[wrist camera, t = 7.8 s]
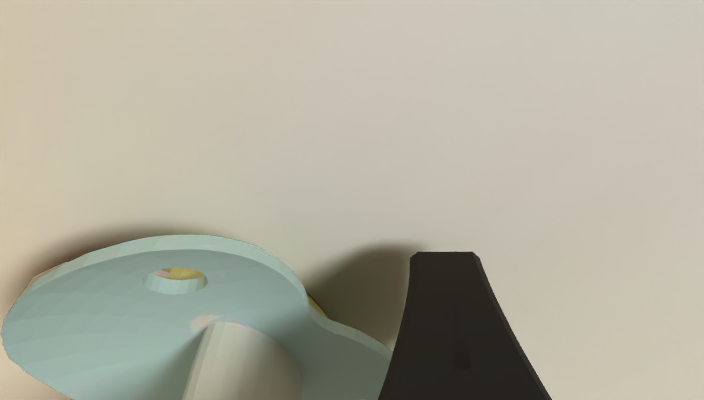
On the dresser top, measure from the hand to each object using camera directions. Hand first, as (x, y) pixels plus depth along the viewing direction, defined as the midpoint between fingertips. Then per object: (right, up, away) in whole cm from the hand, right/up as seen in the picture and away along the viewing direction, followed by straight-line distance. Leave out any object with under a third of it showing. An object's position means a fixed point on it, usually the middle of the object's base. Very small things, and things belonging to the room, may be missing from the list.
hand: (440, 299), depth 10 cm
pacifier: (-4, -1, +2) cm, 4 cm away
